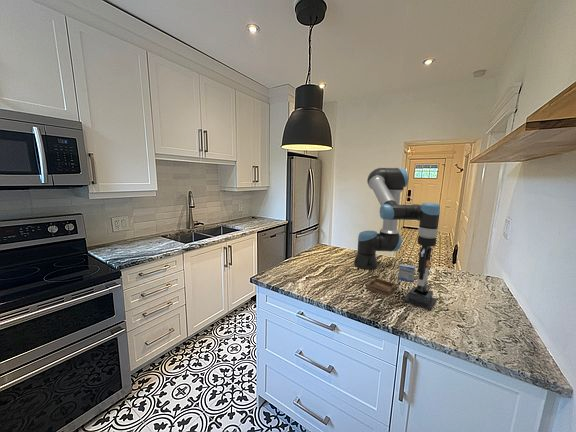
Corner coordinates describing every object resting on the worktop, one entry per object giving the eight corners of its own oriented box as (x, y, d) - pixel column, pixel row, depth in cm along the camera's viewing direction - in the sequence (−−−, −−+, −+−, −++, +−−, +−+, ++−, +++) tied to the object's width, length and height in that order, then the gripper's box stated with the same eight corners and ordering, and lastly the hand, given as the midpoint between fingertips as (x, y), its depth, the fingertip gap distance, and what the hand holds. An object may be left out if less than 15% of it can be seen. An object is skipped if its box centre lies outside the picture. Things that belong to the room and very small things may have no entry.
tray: (374, 281, 140) (374, 277, 139) (396, 288, 132) (396, 284, 131) (365, 289, 131) (365, 284, 130) (388, 296, 123) (388, 291, 122)
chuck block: (410, 292, 127) (411, 283, 126) (436, 301, 119) (437, 291, 118) (402, 301, 118) (403, 291, 117) (430, 310, 110) (432, 300, 110)
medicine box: (398, 279, 143) (399, 265, 142) (398, 276, 147) (399, 263, 146) (413, 282, 140) (414, 268, 138) (413, 279, 144) (414, 265, 142)
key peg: (417, 287, 120) (421, 258, 118) (427, 289, 118) (430, 260, 115) (415, 289, 117) (418, 260, 115) (424, 292, 115) (428, 262, 112)
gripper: (423, 232, 122) (418, 276, 126) (413, 238, 109) (408, 287, 113) (440, 234, 117) (434, 280, 121) (432, 241, 105) (426, 292, 108)
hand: (422, 283), depth 117 cm, fingers closed on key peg, 4 cm apart
